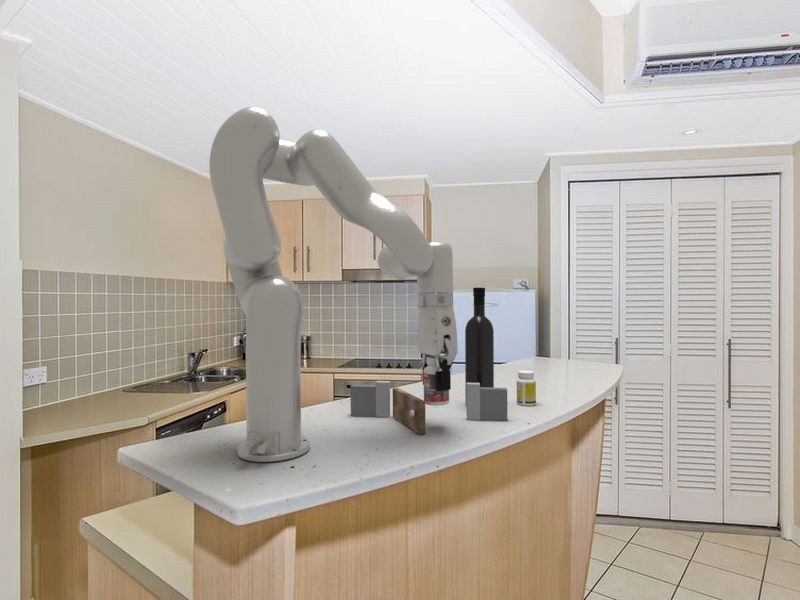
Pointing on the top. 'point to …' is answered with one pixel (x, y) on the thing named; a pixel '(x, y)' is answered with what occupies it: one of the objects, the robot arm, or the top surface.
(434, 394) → the pill bottle
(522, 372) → the supplement bottle
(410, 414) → the door
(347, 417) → the top surface
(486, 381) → the wine bottle
